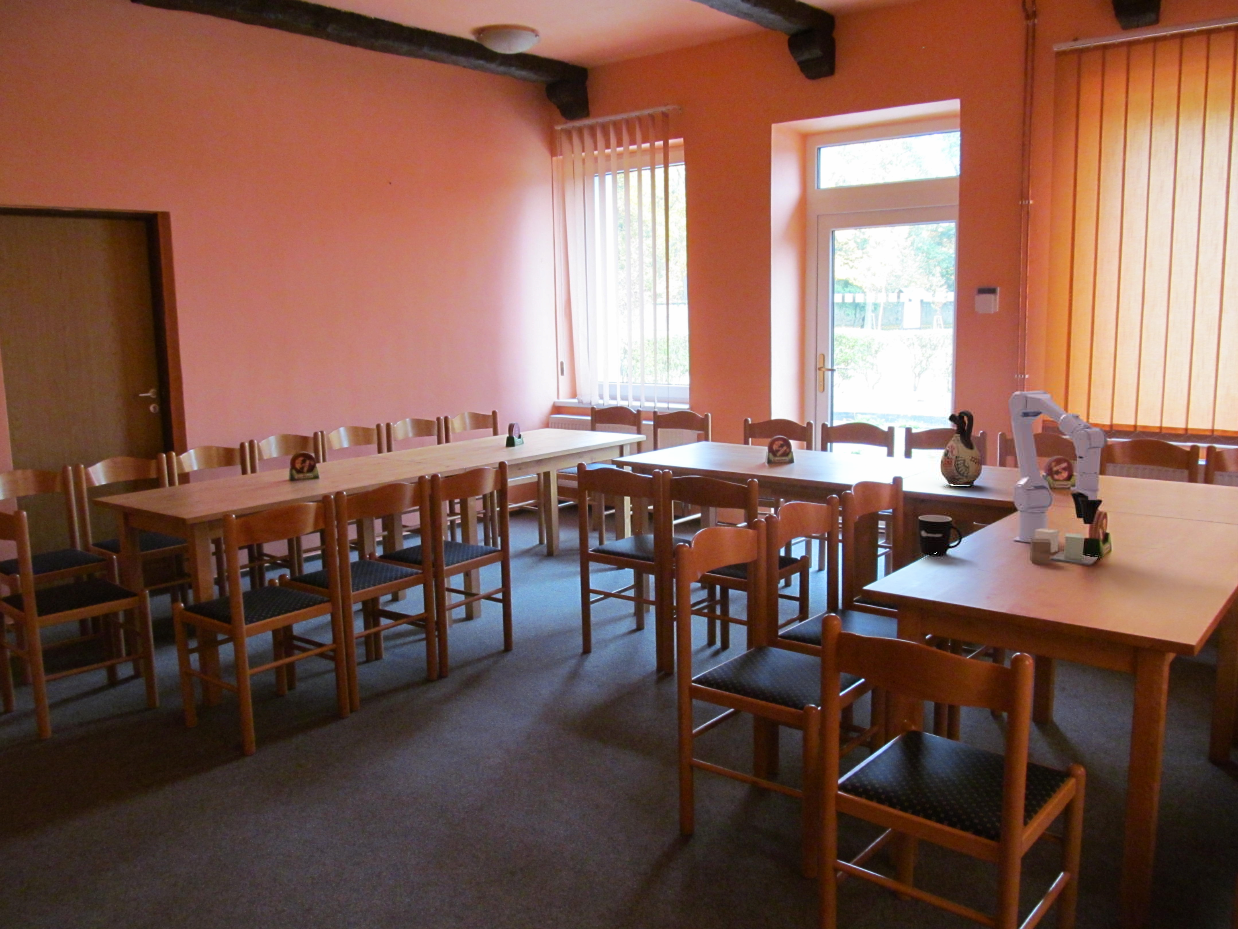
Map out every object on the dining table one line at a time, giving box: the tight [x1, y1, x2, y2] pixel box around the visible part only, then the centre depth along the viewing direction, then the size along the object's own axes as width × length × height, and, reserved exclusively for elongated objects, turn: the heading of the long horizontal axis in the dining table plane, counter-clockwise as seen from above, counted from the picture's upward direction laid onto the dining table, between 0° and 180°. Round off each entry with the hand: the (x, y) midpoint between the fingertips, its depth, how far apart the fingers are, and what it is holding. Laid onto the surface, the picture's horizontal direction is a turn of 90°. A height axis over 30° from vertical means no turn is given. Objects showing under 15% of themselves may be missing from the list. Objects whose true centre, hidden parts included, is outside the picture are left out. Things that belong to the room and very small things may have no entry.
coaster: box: [1050, 550, 1098, 566], centre depth 268 cm, size 10×10×1 cm
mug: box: [917, 514, 963, 557], centre depth 275 cm, size 12×9×10 cm
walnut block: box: [1029, 538, 1051, 565], centre depth 265 cm, size 4×4×6 cm
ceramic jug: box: [939, 409, 983, 486], centre depth 382 cm, size 17×15×30 cm
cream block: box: [1035, 527, 1060, 554], centre depth 278 cm, size 4×4×6 cm
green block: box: [1063, 532, 1085, 560], centre depth 268 cm, size 4×4×6 cm
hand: (1084, 521), depth 270 cm, fingers open, 7 cm apart
